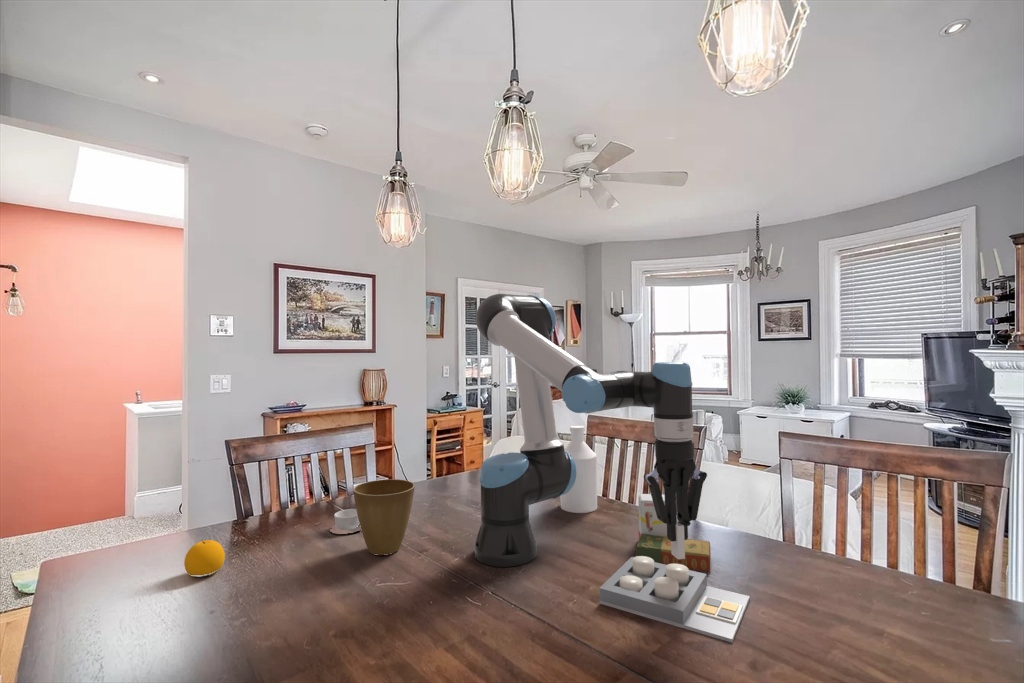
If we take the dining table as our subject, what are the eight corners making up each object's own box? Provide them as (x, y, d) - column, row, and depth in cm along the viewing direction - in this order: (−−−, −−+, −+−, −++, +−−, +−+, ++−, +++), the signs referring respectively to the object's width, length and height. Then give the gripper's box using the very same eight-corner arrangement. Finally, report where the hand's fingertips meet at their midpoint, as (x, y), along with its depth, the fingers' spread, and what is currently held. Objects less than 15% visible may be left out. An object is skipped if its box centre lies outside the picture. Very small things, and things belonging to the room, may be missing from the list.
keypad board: (599, 603, 97) (599, 588, 97) (631, 570, 111) (631, 556, 111) (732, 642, 83) (731, 624, 83) (749, 599, 97) (749, 583, 97)
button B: (629, 574, 104) (629, 561, 104) (637, 566, 107) (636, 554, 107) (650, 579, 101) (649, 566, 101) (657, 571, 105) (656, 559, 105)
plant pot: (370, 568, 114) (369, 498, 115) (344, 549, 126) (343, 486, 126) (426, 550, 124) (425, 486, 124) (397, 534, 135) (396, 475, 136)
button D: (662, 582, 100) (662, 569, 100) (669, 574, 103) (669, 561, 103) (685, 588, 97) (685, 575, 97) (691, 579, 101) (691, 566, 101)
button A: (616, 595, 98) (616, 582, 98) (624, 586, 102) (624, 573, 102) (638, 601, 95) (637, 587, 95) (645, 591, 99) (645, 578, 99)
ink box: (641, 547, 123) (640, 499, 124) (638, 539, 128) (637, 493, 128) (677, 548, 122) (675, 500, 123) (673, 540, 127) (671, 494, 127)
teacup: (374, 527, 142) (374, 510, 142) (346, 539, 133) (346, 521, 133) (350, 521, 147) (349, 505, 147) (321, 532, 139) (321, 515, 139)
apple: (230, 573, 114) (229, 540, 114) (190, 585, 108) (189, 551, 108) (218, 563, 119) (218, 531, 119) (180, 574, 113) (179, 541, 113)
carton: (710, 574, 109) (709, 554, 109) (635, 563, 115) (635, 544, 115) (710, 558, 117) (710, 540, 117) (640, 549, 123) (640, 532, 123)
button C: (651, 597, 94) (650, 583, 94) (658, 588, 98) (658, 574, 98) (674, 604, 92) (674, 589, 92) (681, 594, 95) (681, 580, 95)
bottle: (556, 502, 161) (554, 424, 161) (592, 500, 162) (590, 423, 162) (564, 514, 149) (562, 430, 149) (602, 512, 150) (601, 429, 151)
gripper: (652, 443, 96) (656, 567, 95) (714, 439, 98) (718, 560, 98) (635, 437, 103) (639, 552, 103) (693, 433, 106) (697, 546, 105)
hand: (678, 556), depth 100 cm, fingers closed
